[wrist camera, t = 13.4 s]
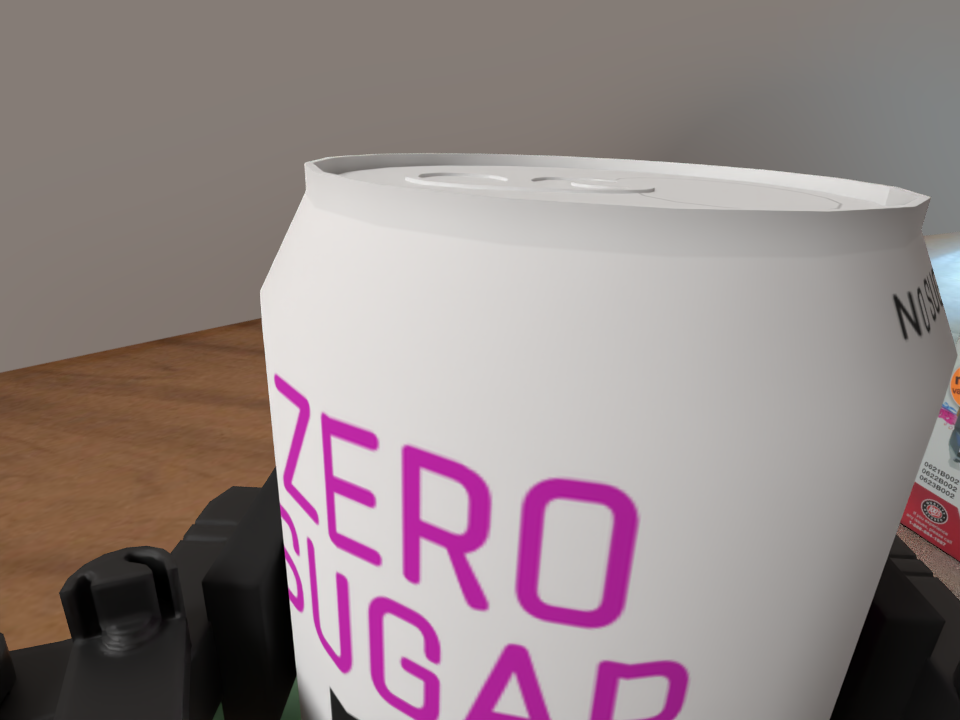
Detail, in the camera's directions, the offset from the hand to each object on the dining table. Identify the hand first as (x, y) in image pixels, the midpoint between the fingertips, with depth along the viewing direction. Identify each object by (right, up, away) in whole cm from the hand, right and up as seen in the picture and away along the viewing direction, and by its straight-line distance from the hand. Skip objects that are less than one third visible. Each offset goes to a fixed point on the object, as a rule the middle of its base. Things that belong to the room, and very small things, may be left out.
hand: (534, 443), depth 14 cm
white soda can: (0, -10, -1) cm, 10 cm away
